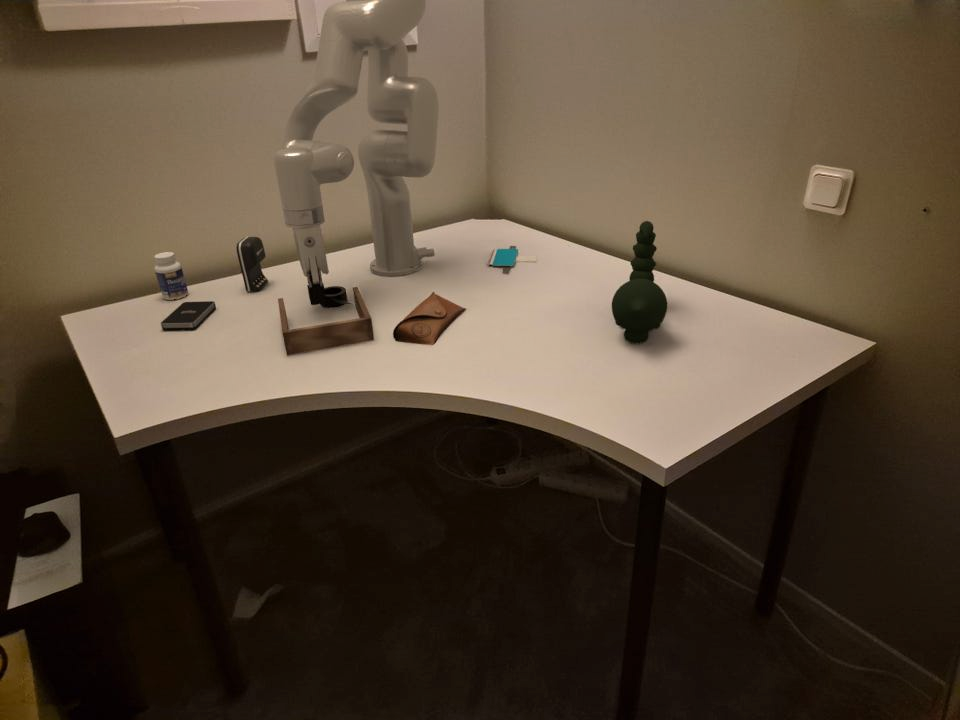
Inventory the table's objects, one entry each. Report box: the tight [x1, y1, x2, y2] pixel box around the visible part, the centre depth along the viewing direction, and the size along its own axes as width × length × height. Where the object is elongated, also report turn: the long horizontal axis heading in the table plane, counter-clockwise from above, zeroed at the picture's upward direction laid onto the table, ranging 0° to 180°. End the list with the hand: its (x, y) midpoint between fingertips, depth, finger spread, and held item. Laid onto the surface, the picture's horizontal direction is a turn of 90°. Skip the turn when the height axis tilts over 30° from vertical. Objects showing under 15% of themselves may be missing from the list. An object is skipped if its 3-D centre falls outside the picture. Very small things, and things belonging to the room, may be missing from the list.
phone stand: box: [488, 245, 538, 274], centre depth 155 cm, size 20×12×2 cm, turn 172°
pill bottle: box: [154, 251, 189, 301], centre depth 139 cm, size 5×5×10 cm
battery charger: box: [236, 235, 269, 293], centre depth 141 cm, size 7×4×11 cm, turn 176°
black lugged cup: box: [319, 285, 353, 309], centre depth 134 cm, size 8×10×3 cm
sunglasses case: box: [392, 291, 467, 346], centre depth 123 cm, size 18×7×7 cm
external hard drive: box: [160, 300, 217, 332], centre depth 129 cm, size 7×11×2 cm, turn 178°
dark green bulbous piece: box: [611, 220, 668, 344], centre depth 115 cm, size 10×19×26 cm
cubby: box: [277, 286, 375, 356], centre depth 122 cm, size 16×17×4 cm
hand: (318, 302), depth 130 cm, fingers closed
